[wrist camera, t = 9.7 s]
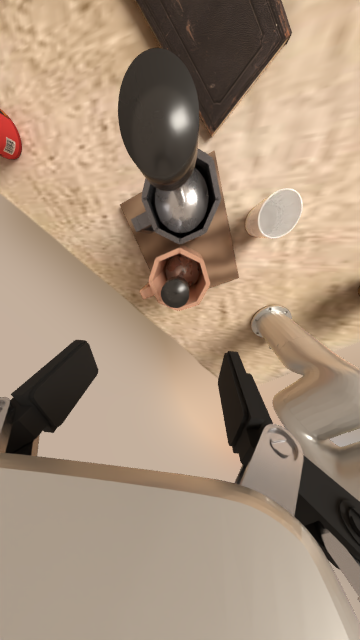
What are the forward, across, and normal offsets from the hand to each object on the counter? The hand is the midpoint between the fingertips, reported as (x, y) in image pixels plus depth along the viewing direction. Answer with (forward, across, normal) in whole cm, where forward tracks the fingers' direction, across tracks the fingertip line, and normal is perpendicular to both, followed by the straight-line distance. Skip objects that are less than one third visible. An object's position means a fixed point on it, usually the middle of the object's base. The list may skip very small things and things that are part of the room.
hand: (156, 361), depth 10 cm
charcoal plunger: (+24, 0, -13) cm, 27 cm away
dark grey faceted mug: (+37, +2, -12) cm, 39 cm away
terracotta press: (+37, +2, +1) cm, 37 cm away
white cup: (+38, -18, -12) cm, 44 cm away
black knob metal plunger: (+33, 0, 0) cm, 33 cm away
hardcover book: (+39, -2, -40) cm, 56 cm away
